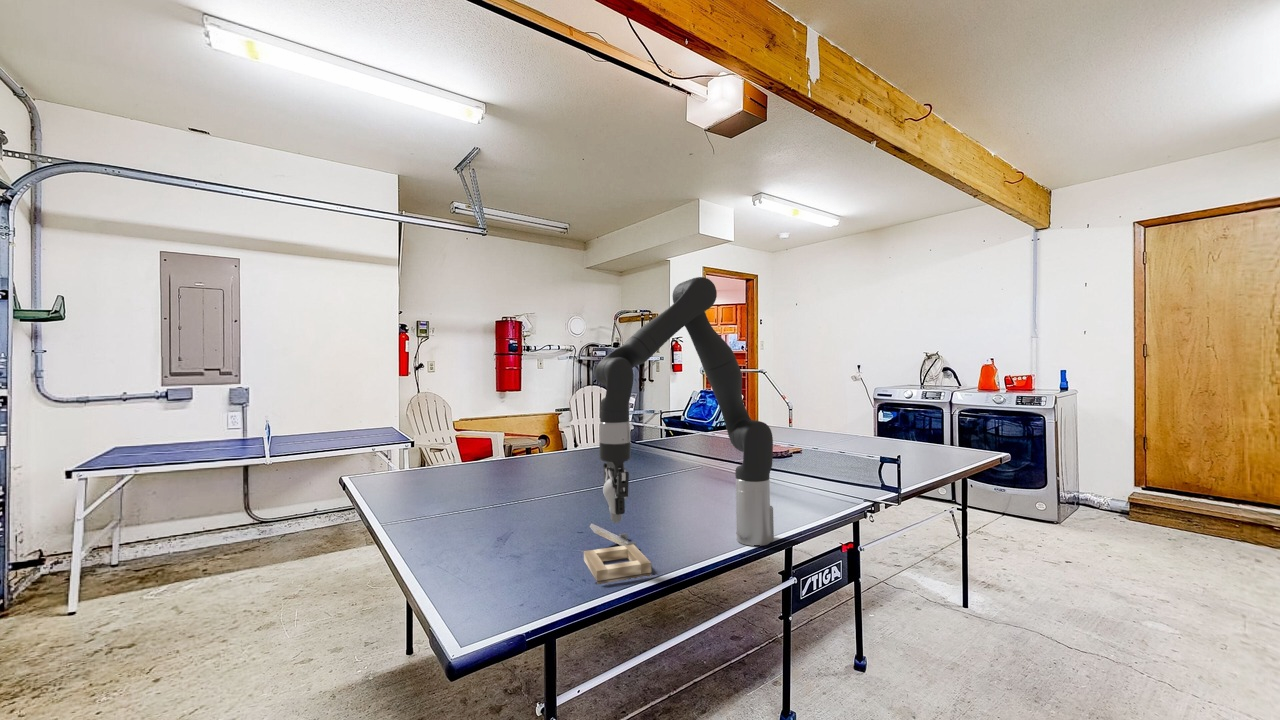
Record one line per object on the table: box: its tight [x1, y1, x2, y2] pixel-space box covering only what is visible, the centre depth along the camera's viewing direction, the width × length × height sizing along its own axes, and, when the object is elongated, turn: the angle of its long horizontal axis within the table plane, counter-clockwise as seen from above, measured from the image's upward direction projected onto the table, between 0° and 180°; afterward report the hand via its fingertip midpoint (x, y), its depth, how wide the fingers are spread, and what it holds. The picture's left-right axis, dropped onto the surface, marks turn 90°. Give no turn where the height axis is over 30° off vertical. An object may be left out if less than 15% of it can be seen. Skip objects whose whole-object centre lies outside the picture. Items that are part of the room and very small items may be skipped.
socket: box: [583, 544, 652, 585], centre depth 119 cm, size 13×13×3 cm
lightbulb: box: [602, 479, 627, 524], centre depth 120 cm, size 6×6×11 cm
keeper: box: [589, 522, 630, 546], centre depth 132 cm, size 12×6×1 cm, turn 109°
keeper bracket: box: [618, 532, 637, 547], centre depth 134 cm, size 2×9×2 cm, turn 19°
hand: (615, 510), depth 120 cm, fingers closed on lightbulb, 6 cm apart
